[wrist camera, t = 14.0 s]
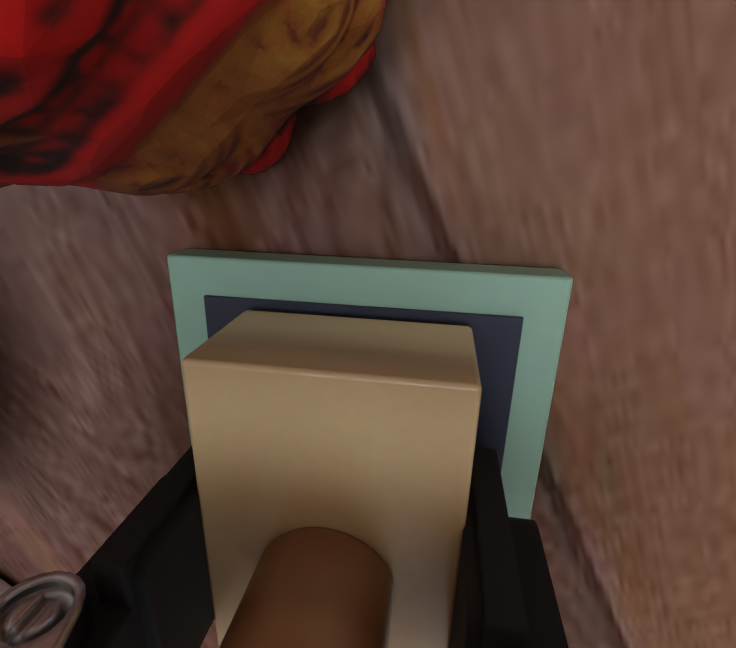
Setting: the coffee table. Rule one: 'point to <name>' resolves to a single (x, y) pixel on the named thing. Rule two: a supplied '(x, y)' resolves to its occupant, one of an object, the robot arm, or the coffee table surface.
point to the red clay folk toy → (168, 86)
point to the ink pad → (409, 304)
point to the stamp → (333, 477)
